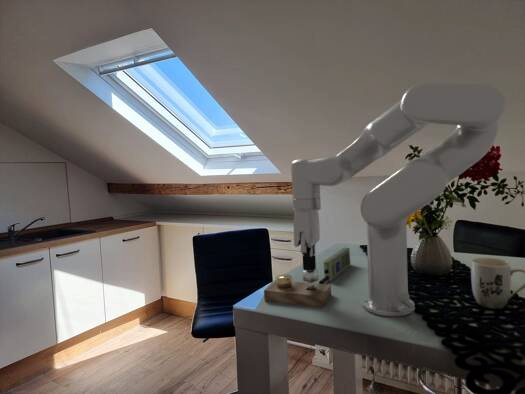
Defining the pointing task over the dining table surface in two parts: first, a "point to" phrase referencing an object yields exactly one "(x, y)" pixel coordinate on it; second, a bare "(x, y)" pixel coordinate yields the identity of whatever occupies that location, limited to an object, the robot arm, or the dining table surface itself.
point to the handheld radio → (336, 264)
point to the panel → (298, 294)
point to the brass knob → (284, 281)
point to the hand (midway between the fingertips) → (309, 269)
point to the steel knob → (310, 278)
